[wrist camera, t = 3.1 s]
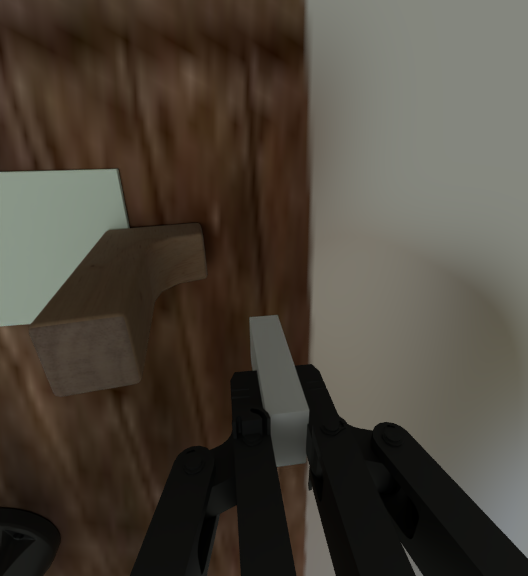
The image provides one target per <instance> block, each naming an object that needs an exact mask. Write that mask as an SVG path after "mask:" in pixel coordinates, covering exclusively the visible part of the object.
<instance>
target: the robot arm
mask: <svg viewBox="0 0 528 576" xmlns="http://www.w3.org/2000/svg"><path fill="white" fill-rule="evenodd" d="M249 321H250V347H251V363H252V369H253V371H244V372H235V373H234V375H233V377H232V379H231V400H232V419H233V420H232V429H233V430H232V433H231V436H230V437H229V438H228V440H227V441H226V442H224V443H223V444H222V445H220V446H218V447H216V448H213V449H211V450H209V449H207V448H206V447H202V446H192V447H190V448H188V449H185V450H184V451H183V452H181V453H180V454H179V455H178V457H177V458H176V460H175V461H174V464H173V466H172V469H171V472H170V474H169V477H168V479H167V482H166V484H165V487H164V490H163V492H162V495H161V497H160V500H159V502H158V505H157V508H156V510H155V513H154V515H153V518H152V520H151V523H150V526H149V528H148V531H147V533H146V536H145V539H144V541H143V544H142V546H141V549H140V551H139V554H138V557H137V559H136V562H135V564H134V567H133V569H132V572H131V575H130V576H207V571H208V567H209V562H210V558H211V553H212V548H213V544H214V539H215V534H216V530H217V525H218V521H219V516H220V513H222V512H224V511H226V510H228V509H230V508H232V507H234V506H235V505H237V513H238V531H239V549H240V567H241V576H296V571H295V566H294V560H293V555H292V549H291V544H290V538H289V533H288V527H287V522H286V516H285V511H284V505H283V500H282V494H281V489H280V483H279V478H278V472H277V467H279V466H286V465H294V464H301V463H306V455H307V458H308V461H309V465H310V468H309V482H308V487H309V490H312V488H313V492H314V495H315V499H316V503H317V506H318V510H319V514H320V518H321V522H322V526H323V529H324V533H325V537H326V541H327V544H328V548H329V552H330V556H331V559H332V563H333V567H334V571H335V574H336V576H416V575H415V573H414V571H413V569H412V566H411V564H410V562H409V560H408V557H407V555H406V553H405V551H404V548H405V549H406V551H407V552H408V553H409V555H410V556H411V558H412V559H413V561H414V562H415V564H416V565H417V566H418V568H419V570H420V571H421V573H422V574H423V576H528V558H526V556H525V555H524V554H523V553H522V552H521V551H520V550H519V549H518V548H517V547H516V546H515V545H514V544H513V543H512V542H511V540H510V539H509V538H508V537H507V536H506V535H505V534H504V533H503V532H502V531H501V530H500V529H499V528H498V527H497V526H496V525H495V524H494V523H493V521H492V520H491V519H490V518H489V517H488V516H487V515H486V514H485V513H484V512H483V511H482V510H481V509H480V508H479V507H478V506H477V505H476V503H475V502H474V501H473V500H472V499H471V498H470V497H469V496H468V495H467V494H466V493H465V492H464V491H463V490H462V489H461V488H460V487H459V486H458V484H457V483H456V482H455V481H454V480H453V479H451V477H450V476H449V475H448V474H447V473H446V472H445V471H444V470H443V469H442V468H441V466H440V465H439V464H437V462H436V461H435V460H434V459H433V458H432V457H431V456H430V455H429V454H428V453H427V452H426V451H425V450H424V449H423V448H422V446H421V445H420V444H419V443H418V442H417V441H416V440H415V439H414V438H413V437H412V436H411V435H410V434H409V433H408V432H407V431H406V430H405V429H403V428H402V427H401V426H398V425H397V424H394V423H389V422H384V423H379V424H378V425H376V426H375V427H374V429H373V431H372V430H366V429H360V428H356V427H353V426H351V425H348V424H347V423H346V421H345V420H344V419H342V418H341V417H340V416H339V415H338V413H337V411H336V409H335V407H334V404H333V402H332V400H331V397H330V395H329V392H328V390H327V389H326V386H325V383H324V381H323V379H322V377H321V374H320V372H319V370H317V369H316V368H315V367H314V366H313V365H312V364H308V365H298V366H294V363H293V360H292V357H291V354H290V351H289V348H288V345H287V342H286V339H285V336H284V333H283V330H282V327H281V324H280V321H279V318H278V315H272V316H259V317H249ZM401 543H402V544H401ZM59 544H60V535H59V533H58V531H57V529H56V528H55V527H54V526H53V525H52V524H51V523H50V522H49V521H47V520H46V519H44V518H42V517H40V516H38V515H35V514H32V513H29V512H26V511H21V510H15V509H4V508H0V576H43V575H44V574H45V572H46V571H47V570H48V568H49V567H50V565H51V564H52V562H53V560H54V557H55V555H56V552H57V550H58V547H59ZM402 545H403V546H404V548H403V547H402Z"/></svg>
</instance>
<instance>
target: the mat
mask: <svg viewBox="0 0 528 576" xmlns="http://www.w3.org/2000/svg"><path fill="white" fill-rule="evenodd" d="M127 228H130V226H129V221H128V216H127V211H126V206H125V201H124V195H123V190H122V185H121V180H120V175H119V170H118V169H89V170H52V171H15V172H0V326H9V325H22V324H31V323H32V322H33V321H34V319H35V318H36V317H37V316H38V315H39V313H40V312H41V311H42V310H43V308H44V307H45V306H46V305H47V303H48V302H49V301H50V300H51V299H52V297H53V296H54V295H55V294H56V292H57V291H58V290H59V289H60V287H61V286H62V285H63V284H64V283H65V281H66V280H67V279H68V278H69V276H70V275H71V274H72V273H73V271H74V270H75V269H76V268H77V266H78V265H79V264H80V263H81V262H82V260H83V259H84V258H85V257H86V255H87V254H88V253H89V252H90V250H91V249H92V248H93V247H94V245H95V244H96V243H97V242H98V241H99V239H100V238H101V237H102V236H103V234H104V233H105V232H106V231H108V230H115V229H127Z"/></svg>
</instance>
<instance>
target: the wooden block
mask: <svg viewBox="0 0 528 576" xmlns="http://www.w3.org/2000/svg"><path fill="white" fill-rule="evenodd" d="M207 275H208V273H207V265H206V256H205V247H204V238H203V233H202V228H201V225H200V224H199V223H187V224H175V225H163V226H151V227H139V228H127V229H115V230H108V231H106V232H105V233H104V234H103V236H102V237H101V238H100V239H99V241H98V242H97V243H96V244H95V245H94V247H93V248H92V249H91V250H90V252H89V253H88V254H87V255H86V257H85V258H84V259H83V260H82V262H81V263H80V264H79V265H78V266H77V268H76V269H75V270H74V271H73V273H72V274H71V275H70V276H69V278H68V279H67V280H66V281H65V283H64V284H63V285H62V286H61V287H60V289H59V290H58V291H57V292H56V294H55V295H54V296H53V297H52V299H51V300H50V301H49V302H48V303H47V305H46V306H45V307H44V308H43V310H42V311H41V312H40V313H39V315H38V316H37V317H36V318H35V319H34V321H33V322H32V323H31V324H30V327H29V335H30V337H31V339H32V342H33V344H34V347H35V349H36V352H37V354H38V357H39V359H40V361H41V364H42V366H43V369H44V371H45V374H46V376H47V379H48V381H49V383H50V386H51V388H52V391H53V393H54V394H55V395H56V396H60V397H62V396H68V395H74V394H80V393H86V392H92V391H98V390H103V389H109V388H115V387H121V386H127V385H133V384H136V383H138V382H140V381H141V379H142V375H143V369H144V363H145V357H146V351H147V345H148V339H149V333H150V327H151V321H152V315H153V309H154V304H155V301H156V299H157V298H158V297H159V295H160V294H161V292H163V291H165V290H167V289H169V288H171V287H173V286H175V285H177V284H179V283H185V282H190V281H195V280H201V279H205V278H206V277H207Z"/></svg>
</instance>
